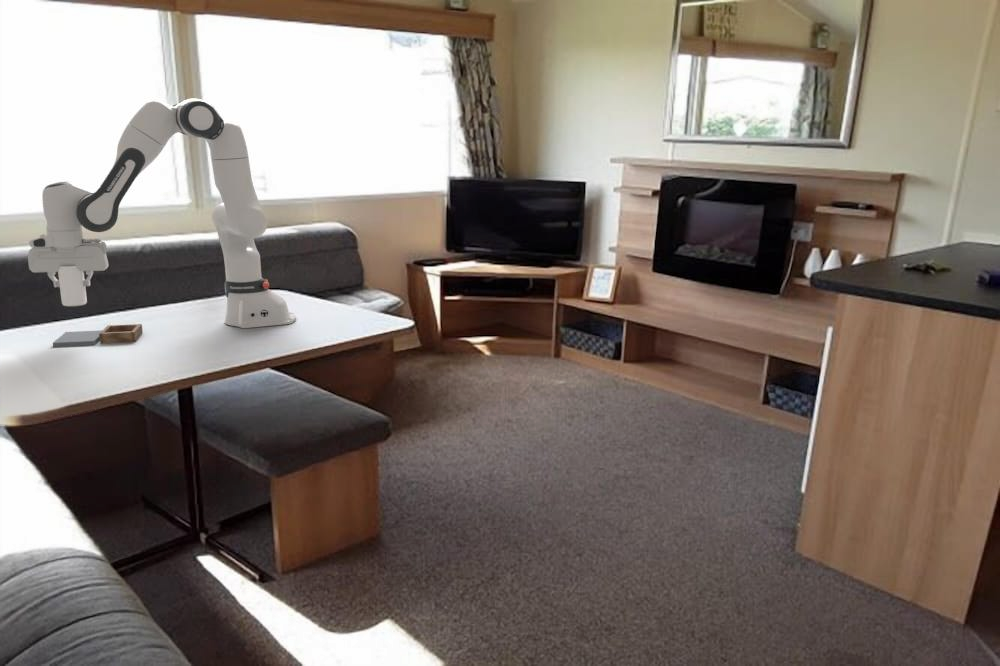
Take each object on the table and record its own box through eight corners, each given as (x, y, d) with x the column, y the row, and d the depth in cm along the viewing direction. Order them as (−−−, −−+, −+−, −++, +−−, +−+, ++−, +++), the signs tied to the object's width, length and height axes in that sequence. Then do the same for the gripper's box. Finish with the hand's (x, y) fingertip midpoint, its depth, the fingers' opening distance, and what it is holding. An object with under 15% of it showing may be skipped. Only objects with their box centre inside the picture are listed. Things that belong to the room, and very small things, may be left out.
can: (92, 302, 220) (87, 262, 217) (77, 307, 214) (73, 266, 210) (71, 301, 220) (66, 261, 217) (56, 306, 214) (51, 265, 211)
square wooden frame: (142, 333, 228) (141, 323, 227) (135, 341, 219) (134, 332, 218) (109, 334, 226) (107, 325, 225) (100, 343, 217) (99, 333, 216)
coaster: (105, 333, 227) (105, 330, 227) (94, 344, 216) (94, 340, 215) (66, 335, 224) (65, 332, 224) (53, 346, 213) (52, 342, 213)
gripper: (108, 237, 217) (114, 282, 221) (30, 238, 213) (38, 285, 216) (102, 240, 211) (108, 287, 215) (22, 241, 207) (30, 289, 210)
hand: (72, 286), depth 216 cm, fingers closed on can, 6 cm apart
